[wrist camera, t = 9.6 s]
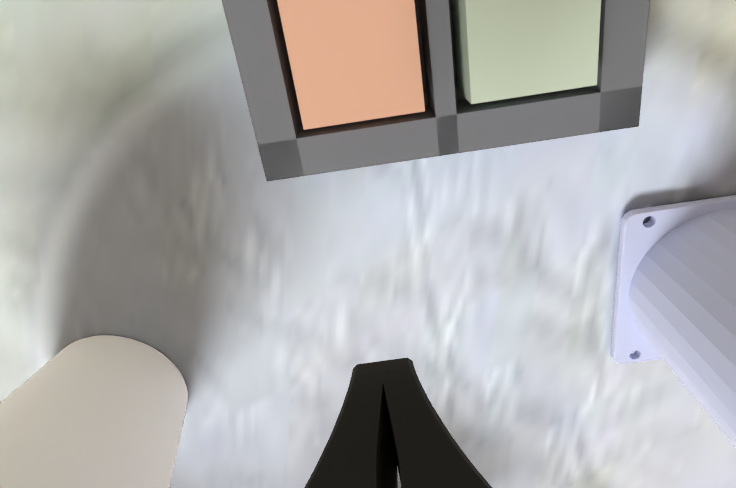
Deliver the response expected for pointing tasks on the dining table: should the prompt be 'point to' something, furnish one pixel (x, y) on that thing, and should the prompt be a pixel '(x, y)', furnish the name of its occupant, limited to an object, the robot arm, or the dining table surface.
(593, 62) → the sage key
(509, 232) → the dining table surface
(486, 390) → the dining table surface
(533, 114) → the grey divided tray
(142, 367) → the cup
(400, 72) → the terracotta key
